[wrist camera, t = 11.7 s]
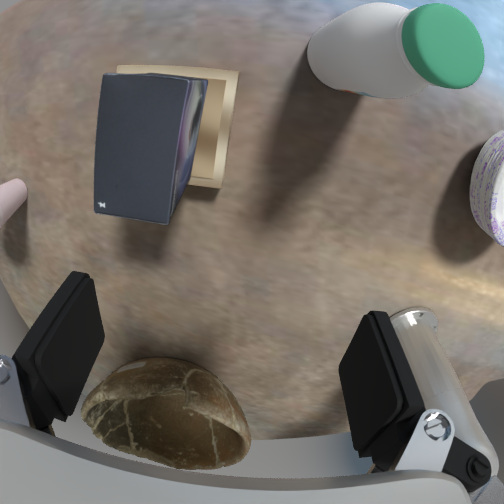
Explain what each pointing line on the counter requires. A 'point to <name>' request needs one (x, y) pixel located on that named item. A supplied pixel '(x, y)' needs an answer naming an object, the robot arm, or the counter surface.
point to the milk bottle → (397, 50)
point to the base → (205, 118)
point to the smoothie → (11, 198)
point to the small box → (145, 143)
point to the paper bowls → (489, 188)
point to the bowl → (169, 415)
